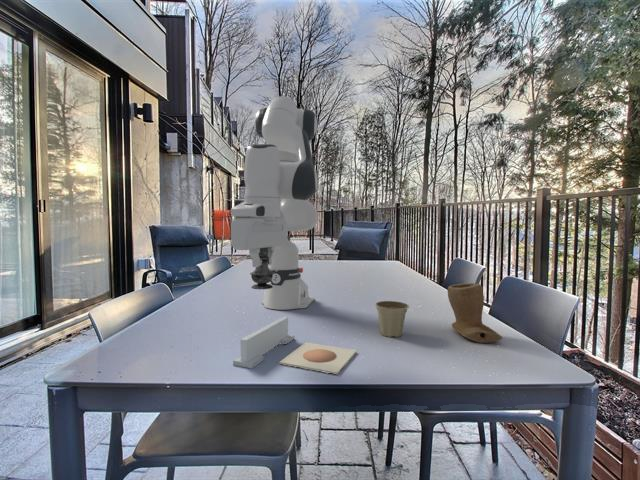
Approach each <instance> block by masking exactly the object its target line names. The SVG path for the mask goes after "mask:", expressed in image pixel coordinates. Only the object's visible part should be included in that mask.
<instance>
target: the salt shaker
mask: <svg viewBox="0 0 640 480" xmlns="http://www.w3.org/2000/svg"><path fill="white" fill-rule="evenodd" d="M258 254H259V257H260V259H262V266H261V267H254V268H255V269H254V271H252V272H250V273H249V274H250V276H251V280H252V281H253V282H254V283H256V284H253V285H251V287H250V288H251V289H253V290H265V289H270V288H273V286H271V285H270V284H266V283H269V282H270V281H271V280H272V277H273V274H274V272H271V271H270V270H269V265H268V259H269V257H268V247H266V248H260V253H258Z"/></svg>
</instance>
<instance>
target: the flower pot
mask: <svg viewBox="0 0 640 480" xmlns="http://www.w3.org/2000/svg"><path fill="white" fill-rule="evenodd" d="M375 307H376V309H377V314H378V322H379V325H378V326H379V333H380V335H382V336H385V337H389V338H392V337H396V338H399V337H401V336H402V335H403V330H404V325H405V319H406V314H407V311H408V309H409V304H407V303H405V302H401V301H396V300H383V301H378V302H375Z"/></svg>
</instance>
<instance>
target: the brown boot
mask: <svg viewBox="0 0 640 480" xmlns="http://www.w3.org/2000/svg"><path fill="white" fill-rule="evenodd" d="M447 297H448V302H449V304H450V306H451V309H452V311H453V315H454V317H455V321H454V322H452V323H451V328H452V329H453V330H454V331H456V332H457V333H458V334H460V335H461V336H463V338H466V339H468V340H470V341H473V342H477V343H483V344H487V343H494V342H495V343H496V342H499V341H501V340H502V339H503V336H502V335H501V334H499V332H496V330H494V329H492V328H490V327H489V326H488V325H485V324H484V323H483V320H482V319H483V317H482V316H483V310H484V306H485V305H484V304H485V295H484V288H483V287H482V285H481V284H480V283H472V282H468V283H467V282H466V283H459V284H458V283H457V284H451V285H449V286H448V287H447Z"/></svg>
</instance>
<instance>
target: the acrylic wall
mask: <svg viewBox="0 0 640 480" xmlns="http://www.w3.org/2000/svg"><path fill="white" fill-rule="evenodd" d="M293 339H294V340H295V335H294V334H289V317H287V316H282V317H280V318H278V319H276V320H274V321H273V322H270V323H269V324H267V325H265V326H263V327H261V328H259V329H258V330H255V331H253V332H251V333H250V334H248V335H246V336H244V337H242V338H240V356H239V357H237V358H234V359H233V360H232V365H233V366H236V367H242V368H248V369H252V370H253V368H255V367H256V366H257V364H258V365H259V364H260V362H261V361H262V362H264V359H265V358H264V355H266V354H267V353H269V352H270V351H272V350H274V349H275V348H276V347H278V346H279V345H282V344H287V343H288V342H290V341H291V342H292V340H293ZM294 340H293V341H294ZM291 342H290V343H291ZM280 343H281V344H280ZM278 344H279V345H278ZM288 344H289V343H288ZM288 344H287V345H288ZM277 345H278V346H277ZM275 346H276V347H275ZM274 347H275V348H274ZM271 349H272V350H271ZM269 350H270V351H269ZM268 351H269V352H268ZM266 352H267V353H266ZM265 353H266V354H265ZM263 354H264V355H263ZM262 355H263V356H262ZM262 362H261V363H262Z"/></svg>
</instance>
